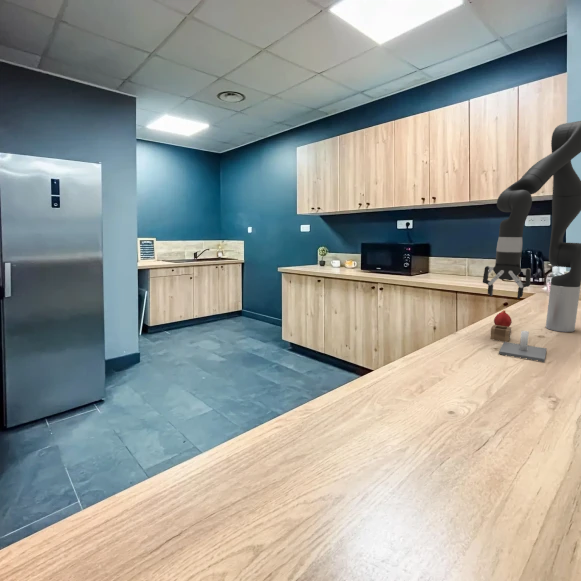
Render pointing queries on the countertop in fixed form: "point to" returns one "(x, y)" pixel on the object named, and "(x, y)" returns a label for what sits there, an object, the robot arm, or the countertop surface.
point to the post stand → (523, 349)
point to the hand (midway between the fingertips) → (504, 296)
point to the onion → (502, 319)
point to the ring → (500, 333)
